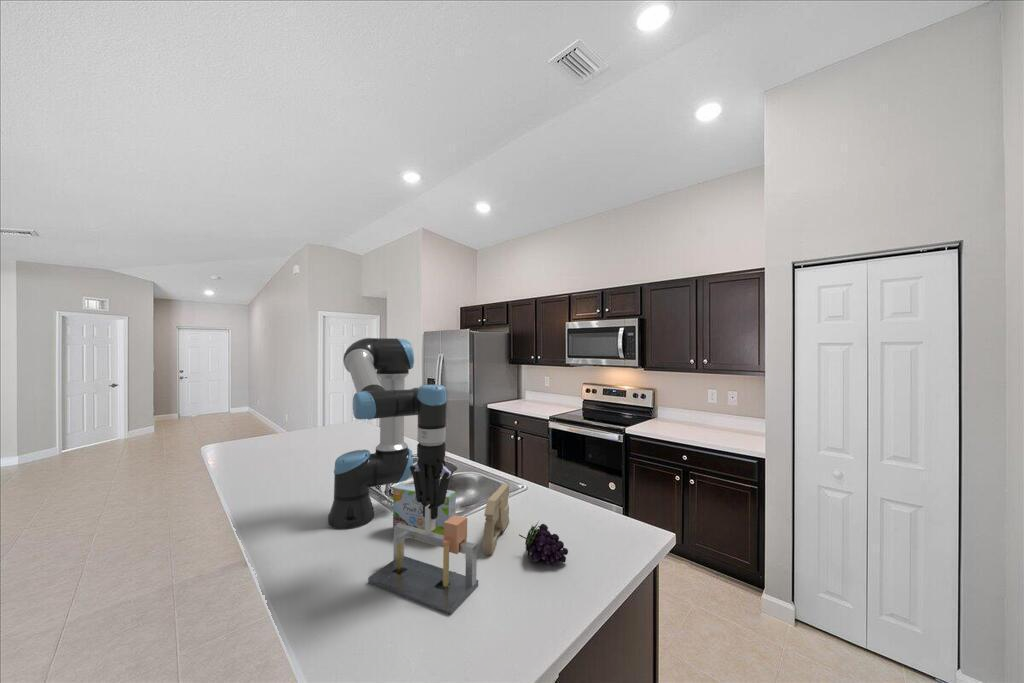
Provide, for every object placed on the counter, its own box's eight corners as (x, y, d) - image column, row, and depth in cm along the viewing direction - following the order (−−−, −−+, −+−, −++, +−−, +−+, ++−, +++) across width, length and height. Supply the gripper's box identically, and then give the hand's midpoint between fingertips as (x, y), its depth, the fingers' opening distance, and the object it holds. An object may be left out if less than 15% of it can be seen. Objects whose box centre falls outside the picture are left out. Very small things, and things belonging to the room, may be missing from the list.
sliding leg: (437, 584, 95) (438, 525, 95) (454, 569, 101) (454, 514, 101) (451, 589, 93) (451, 529, 93) (466, 574, 99) (467, 517, 99)
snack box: (391, 533, 125) (392, 487, 125) (401, 525, 130) (402, 481, 130) (447, 545, 117) (448, 496, 118) (456, 536, 123) (457, 489, 123)
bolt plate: (368, 583, 98) (368, 577, 98) (400, 560, 109) (400, 555, 109) (450, 615, 86) (451, 608, 86) (478, 585, 97) (478, 580, 97)
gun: (492, 558, 110) (493, 504, 112) (481, 556, 111) (483, 503, 112) (509, 527, 134) (510, 483, 135) (500, 526, 134) (501, 483, 136)
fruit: (559, 582, 104) (509, 559, 108) (566, 556, 114) (520, 536, 118) (568, 551, 102) (516, 529, 106) (574, 527, 112) (527, 508, 116)
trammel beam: (383, 571, 102) (383, 531, 103) (398, 560, 108) (398, 523, 108) (463, 599, 91) (464, 555, 91) (476, 586, 96) (476, 544, 96)
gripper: (403, 442, 102) (401, 530, 102) (442, 448, 96) (441, 542, 96) (421, 436, 109) (420, 519, 108) (459, 442, 103) (458, 529, 103)
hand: (430, 529), depth 102 cm, fingers closed
